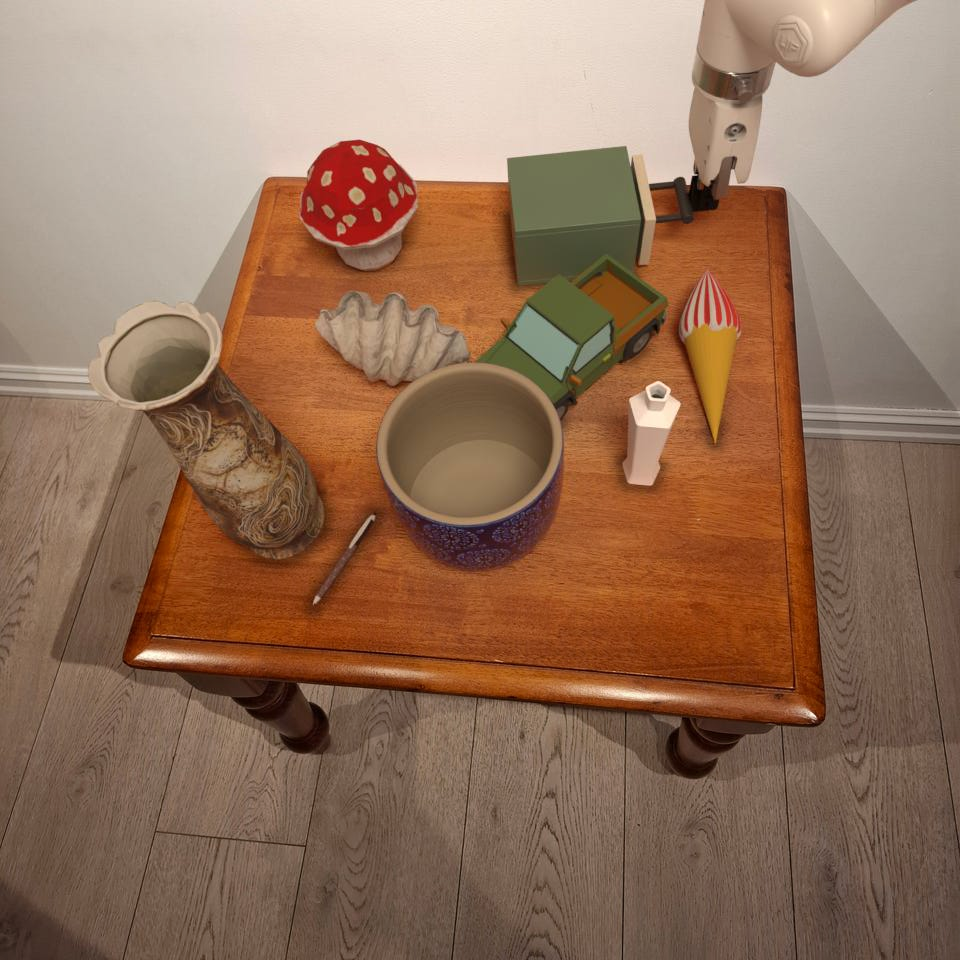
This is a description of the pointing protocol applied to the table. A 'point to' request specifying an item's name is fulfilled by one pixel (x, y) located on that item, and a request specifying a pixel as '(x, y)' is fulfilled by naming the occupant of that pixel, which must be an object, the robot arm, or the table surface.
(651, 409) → the perfume bottle
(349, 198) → the decorative mushroom
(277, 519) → the vase
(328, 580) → the pen
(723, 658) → the table surface
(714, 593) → the table surface
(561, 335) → the toy truck
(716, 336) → the ice cream cone
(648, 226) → the drawer
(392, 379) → the seashell
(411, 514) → the planter
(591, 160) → the cabinet
